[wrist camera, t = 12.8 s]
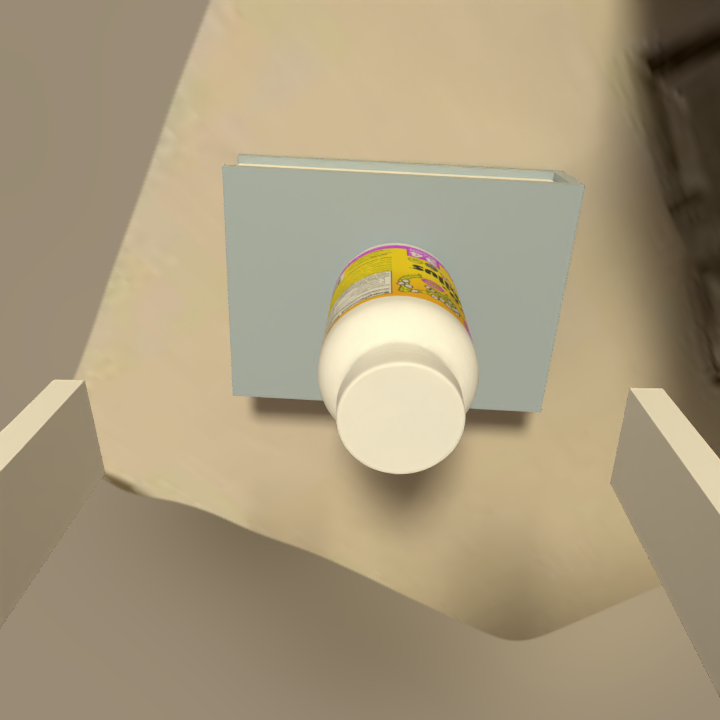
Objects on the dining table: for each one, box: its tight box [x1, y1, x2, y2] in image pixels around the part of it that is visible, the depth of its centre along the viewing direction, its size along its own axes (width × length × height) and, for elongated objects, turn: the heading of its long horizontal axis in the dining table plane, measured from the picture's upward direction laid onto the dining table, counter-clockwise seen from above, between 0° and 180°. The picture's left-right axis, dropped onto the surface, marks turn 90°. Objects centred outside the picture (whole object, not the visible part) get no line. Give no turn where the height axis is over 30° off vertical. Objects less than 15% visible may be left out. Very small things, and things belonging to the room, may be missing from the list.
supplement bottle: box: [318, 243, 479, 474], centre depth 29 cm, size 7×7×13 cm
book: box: [222, 154, 585, 412], centre depth 36 cm, size 18×13×4 cm
